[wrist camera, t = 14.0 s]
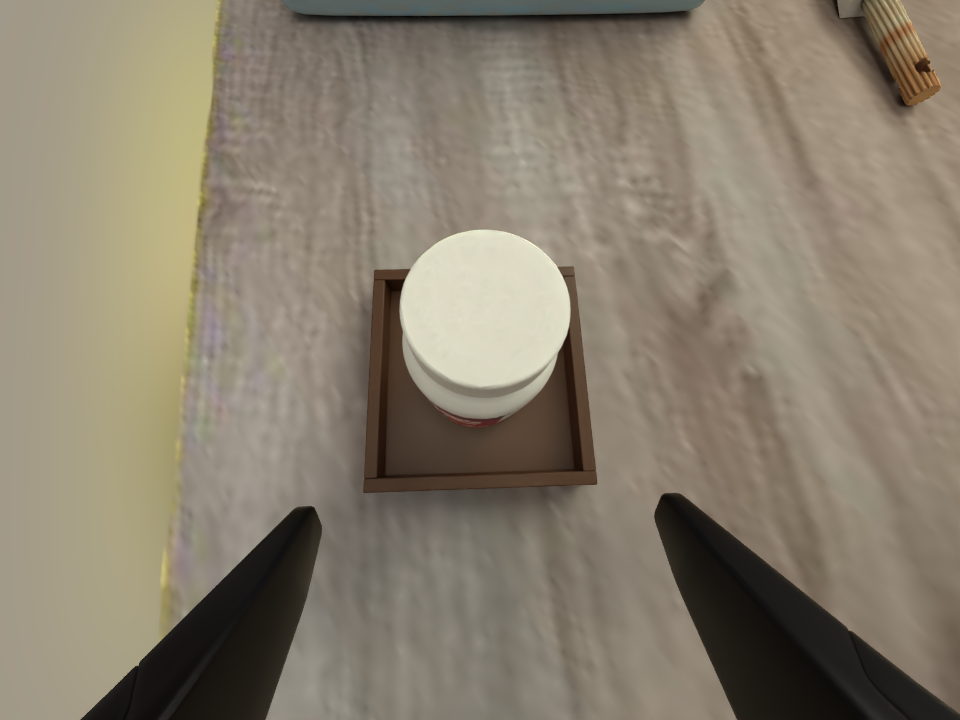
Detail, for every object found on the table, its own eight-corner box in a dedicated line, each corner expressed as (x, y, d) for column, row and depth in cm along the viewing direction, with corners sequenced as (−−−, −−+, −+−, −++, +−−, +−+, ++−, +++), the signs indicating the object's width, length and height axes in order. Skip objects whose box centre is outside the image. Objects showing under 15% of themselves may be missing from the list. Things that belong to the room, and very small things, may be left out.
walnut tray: (584, 480, 20) (597, 484, 18) (374, 487, 20) (363, 493, 18) (564, 282, 23) (573, 266, 21) (383, 285, 23) (373, 269, 21)
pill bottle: (407, 388, 21) (333, 324, 10) (466, 312, 22) (461, 179, 11) (489, 449, 20) (510, 455, 9) (546, 366, 21) (626, 283, 10)
